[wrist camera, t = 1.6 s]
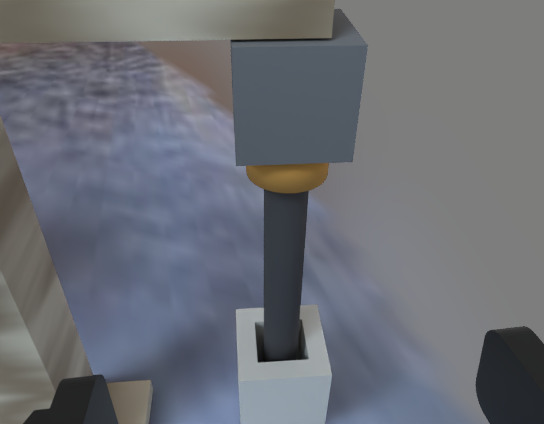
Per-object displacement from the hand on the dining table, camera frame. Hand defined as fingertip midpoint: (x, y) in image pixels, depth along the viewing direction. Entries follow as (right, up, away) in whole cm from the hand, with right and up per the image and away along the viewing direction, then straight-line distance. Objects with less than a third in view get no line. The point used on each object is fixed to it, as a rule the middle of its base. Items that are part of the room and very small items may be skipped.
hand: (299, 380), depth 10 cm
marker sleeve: (0, -8, +19) cm, 20 cm away
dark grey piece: (0, -10, +20) cm, 22 cm away
